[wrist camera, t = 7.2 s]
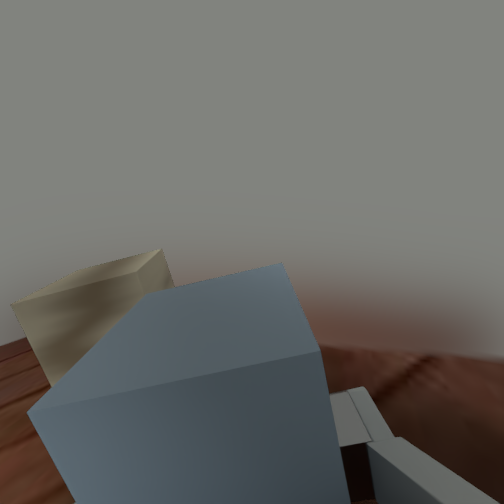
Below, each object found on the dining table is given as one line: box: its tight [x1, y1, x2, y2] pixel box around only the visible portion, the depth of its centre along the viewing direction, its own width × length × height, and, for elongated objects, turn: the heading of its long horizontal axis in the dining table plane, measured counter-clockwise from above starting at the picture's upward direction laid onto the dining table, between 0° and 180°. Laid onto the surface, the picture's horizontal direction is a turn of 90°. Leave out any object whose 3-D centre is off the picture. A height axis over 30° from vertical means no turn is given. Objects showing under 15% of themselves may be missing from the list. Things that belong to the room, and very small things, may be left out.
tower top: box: [11, 249, 175, 387], centre depth 16 cm, size 6×6×5 cm
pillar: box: [27, 263, 351, 504], centre depth 7 cm, size 4×4×10 cm
